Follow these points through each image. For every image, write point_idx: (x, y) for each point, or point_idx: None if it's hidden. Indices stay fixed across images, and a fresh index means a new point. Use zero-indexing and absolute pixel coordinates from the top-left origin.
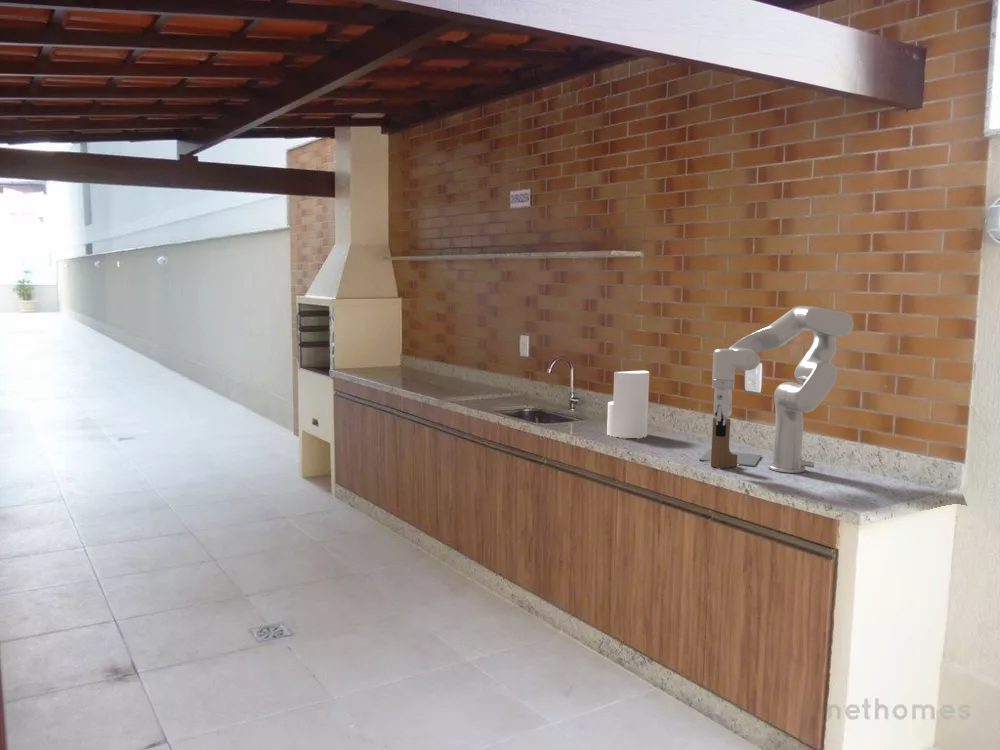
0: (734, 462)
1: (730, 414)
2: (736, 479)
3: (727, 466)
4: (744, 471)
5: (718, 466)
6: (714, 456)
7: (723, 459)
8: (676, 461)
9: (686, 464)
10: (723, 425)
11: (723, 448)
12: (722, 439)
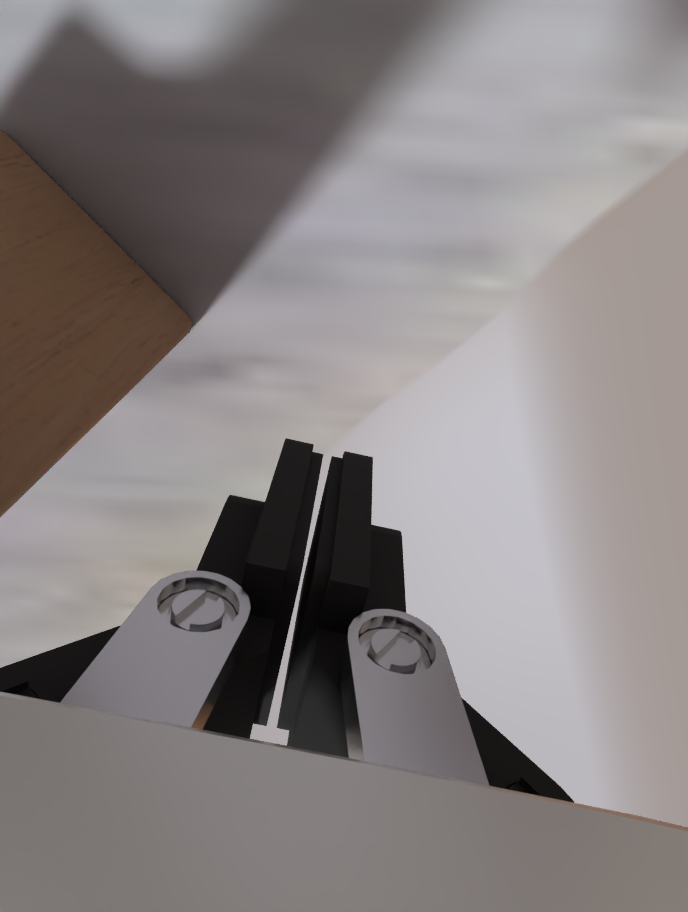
0: (12, 162)
1: (76, 749)
2: (611, 176)
3: (110, 241)
4: (197, 51)
5: (184, 336)
6: (114, 405)
7: (130, 305)
8: (48, 625)
9: (121, 567)
10: (423, 642)
11: (81, 347)
12: (46, 414)
